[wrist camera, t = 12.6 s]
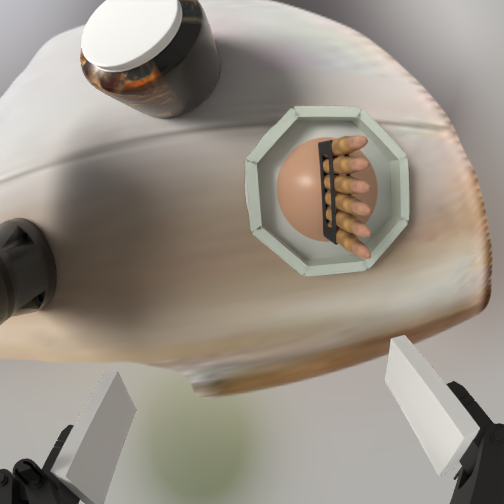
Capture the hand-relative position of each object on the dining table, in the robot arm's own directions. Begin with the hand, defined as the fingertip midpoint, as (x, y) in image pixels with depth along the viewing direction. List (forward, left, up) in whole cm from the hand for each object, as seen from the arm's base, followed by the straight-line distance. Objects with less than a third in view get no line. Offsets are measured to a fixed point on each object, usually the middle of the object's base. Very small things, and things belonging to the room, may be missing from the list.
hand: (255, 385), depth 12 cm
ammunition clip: (+9, +7, -22) cm, 25 cm away
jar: (-8, +23, -24) cm, 34 cm away
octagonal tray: (+9, +7, -24) cm, 26 cm away
